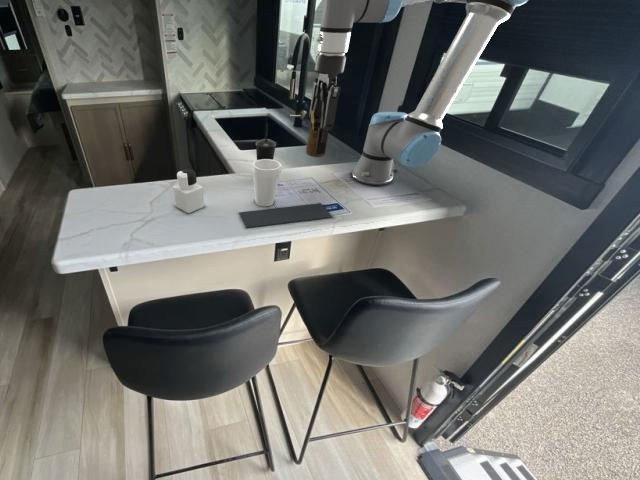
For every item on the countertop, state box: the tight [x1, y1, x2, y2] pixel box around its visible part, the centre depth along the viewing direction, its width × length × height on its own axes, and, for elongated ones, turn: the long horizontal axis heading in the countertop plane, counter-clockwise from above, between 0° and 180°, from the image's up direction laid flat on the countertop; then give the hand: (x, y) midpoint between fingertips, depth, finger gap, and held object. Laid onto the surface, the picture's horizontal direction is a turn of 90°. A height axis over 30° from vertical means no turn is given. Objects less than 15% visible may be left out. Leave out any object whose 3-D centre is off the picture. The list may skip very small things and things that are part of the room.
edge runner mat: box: [238, 202, 333, 229], centre depth 106 cm, size 29×10×1 cm, turn 104°
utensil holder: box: [305, 110, 329, 158], centre depth 94 cm, size 6×6×12 cm
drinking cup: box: [254, 123, 277, 161], centre depth 119 cm, size 8×8×20 cm
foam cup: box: [251, 159, 283, 207], centre depth 108 cm, size 10×9×13 cm
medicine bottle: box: [172, 168, 205, 214], centre depth 106 cm, size 7×7×12 cm
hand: (315, 149), depth 97 cm, fingers closed on utensil holder, 6 cm apart
